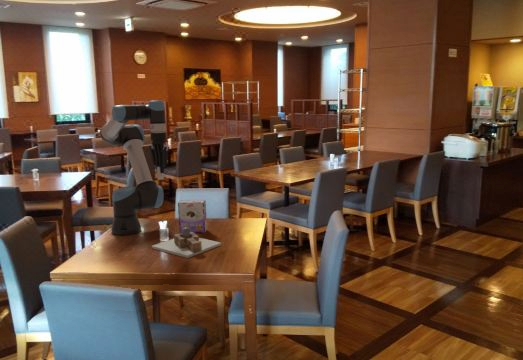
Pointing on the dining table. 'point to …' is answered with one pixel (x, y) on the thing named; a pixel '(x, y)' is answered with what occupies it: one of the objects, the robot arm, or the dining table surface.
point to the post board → (185, 251)
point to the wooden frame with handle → (187, 241)
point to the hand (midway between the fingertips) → (160, 179)
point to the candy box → (192, 215)
